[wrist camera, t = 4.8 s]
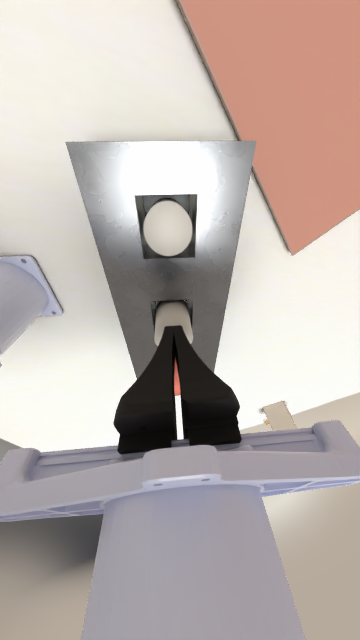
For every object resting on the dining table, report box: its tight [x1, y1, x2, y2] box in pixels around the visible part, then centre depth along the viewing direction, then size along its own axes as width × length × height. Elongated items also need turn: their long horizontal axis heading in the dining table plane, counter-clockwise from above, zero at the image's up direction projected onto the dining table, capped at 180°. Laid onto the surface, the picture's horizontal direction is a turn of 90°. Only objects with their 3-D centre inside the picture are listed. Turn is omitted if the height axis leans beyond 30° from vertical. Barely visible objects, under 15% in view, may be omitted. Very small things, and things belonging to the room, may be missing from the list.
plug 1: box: [143, 198, 192, 256], centre depth 15 cm, size 4×4×5 cm
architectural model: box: [263, 401, 297, 431], centre depth 45 cm, size 3×7×7 cm, turn 122°
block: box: [66, 141, 256, 379], centre depth 21 cm, size 12×28×5 cm, turn 1°
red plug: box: [174, 357, 181, 396], centre depth 24 cm, size 4×4×5 cm
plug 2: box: [154, 300, 193, 346], centre depth 19 cm, size 4×4×5 cm
